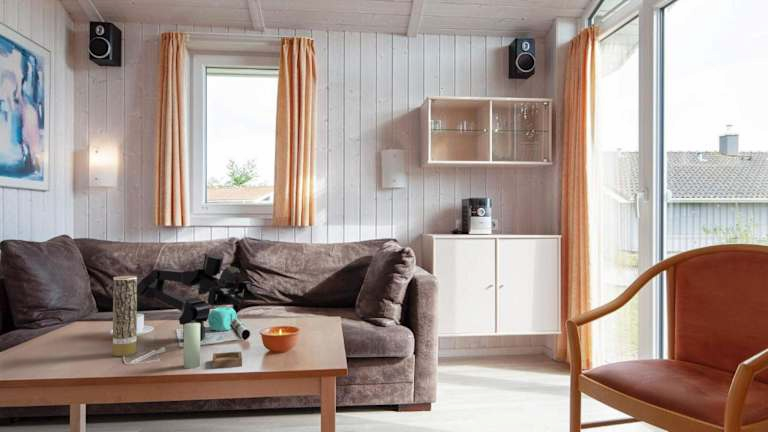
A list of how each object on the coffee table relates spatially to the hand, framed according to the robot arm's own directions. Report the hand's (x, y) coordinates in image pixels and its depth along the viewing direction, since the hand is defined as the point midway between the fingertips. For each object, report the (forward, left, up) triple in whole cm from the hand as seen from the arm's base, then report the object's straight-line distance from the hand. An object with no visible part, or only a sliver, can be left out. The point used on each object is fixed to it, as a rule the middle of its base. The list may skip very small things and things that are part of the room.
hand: (249, 300), depth 169 cm
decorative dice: (-19, +28, -16) cm, 38 cm away
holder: (-1, -18, -16) cm, 24 cm away
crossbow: (-28, -13, -17) cm, 36 cm away
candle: (-10, -21, -16) cm, 29 cm away
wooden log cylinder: (-37, -10, -16) cm, 42 cm away
